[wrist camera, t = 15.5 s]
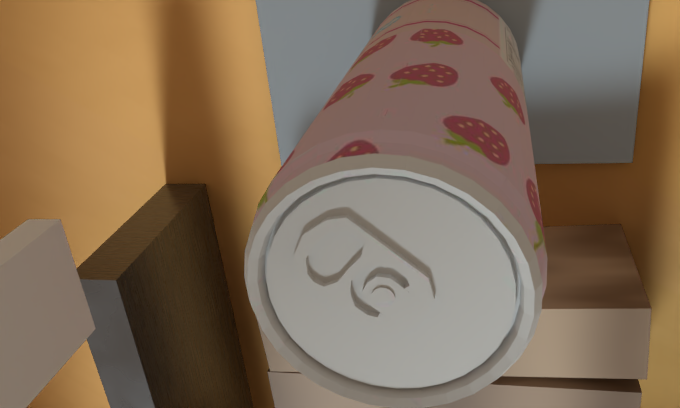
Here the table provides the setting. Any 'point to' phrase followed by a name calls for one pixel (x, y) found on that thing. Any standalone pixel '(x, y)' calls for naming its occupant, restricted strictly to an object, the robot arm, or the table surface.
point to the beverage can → (408, 218)
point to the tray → (165, 309)
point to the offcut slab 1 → (578, 310)
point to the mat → (535, 57)
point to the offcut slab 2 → (478, 393)
